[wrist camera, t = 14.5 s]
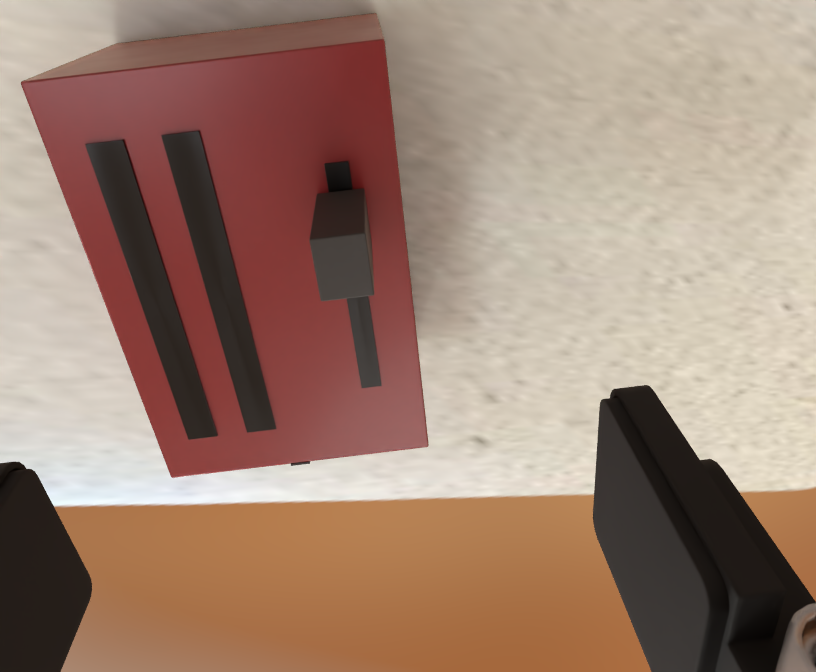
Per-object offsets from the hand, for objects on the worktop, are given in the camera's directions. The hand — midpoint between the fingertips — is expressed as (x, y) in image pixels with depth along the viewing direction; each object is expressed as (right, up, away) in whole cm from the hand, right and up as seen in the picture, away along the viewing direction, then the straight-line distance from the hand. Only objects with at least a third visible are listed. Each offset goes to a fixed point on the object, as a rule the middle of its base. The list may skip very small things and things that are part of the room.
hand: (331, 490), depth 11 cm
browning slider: (-1, +7, +11) cm, 13 cm away
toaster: (-5, +9, +21) cm, 23 cm away
